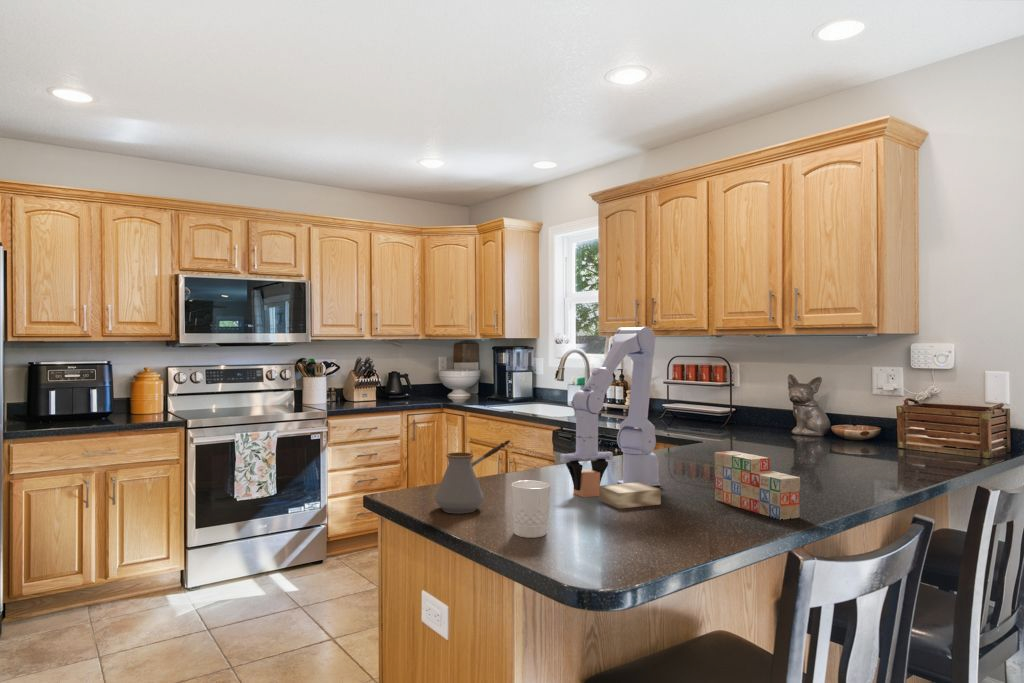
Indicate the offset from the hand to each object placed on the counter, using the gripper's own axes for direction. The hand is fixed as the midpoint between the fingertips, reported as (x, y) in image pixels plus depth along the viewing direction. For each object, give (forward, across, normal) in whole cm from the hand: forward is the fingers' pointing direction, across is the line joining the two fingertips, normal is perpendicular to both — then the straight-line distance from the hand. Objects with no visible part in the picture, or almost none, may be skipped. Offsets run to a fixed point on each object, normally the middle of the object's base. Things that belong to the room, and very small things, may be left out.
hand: (586, 488), depth 166 cm
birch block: (+2, +6, -11) cm, 13 cm away
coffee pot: (+2, -31, -2) cm, 31 cm away
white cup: (+2, -28, -27) cm, 39 cm away
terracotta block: (+1, 0, 0) cm, 1 cm away
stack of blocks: (+2, +31, -27) cm, 41 cm away
